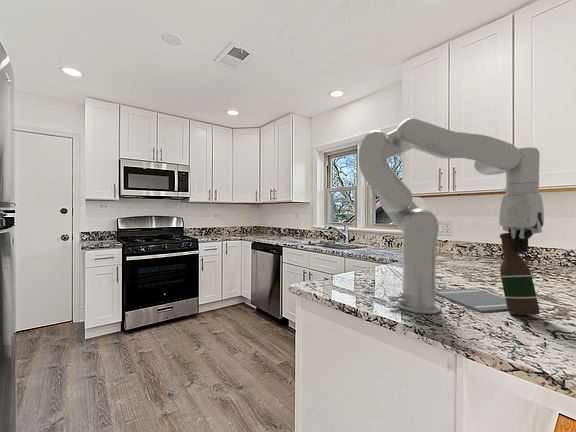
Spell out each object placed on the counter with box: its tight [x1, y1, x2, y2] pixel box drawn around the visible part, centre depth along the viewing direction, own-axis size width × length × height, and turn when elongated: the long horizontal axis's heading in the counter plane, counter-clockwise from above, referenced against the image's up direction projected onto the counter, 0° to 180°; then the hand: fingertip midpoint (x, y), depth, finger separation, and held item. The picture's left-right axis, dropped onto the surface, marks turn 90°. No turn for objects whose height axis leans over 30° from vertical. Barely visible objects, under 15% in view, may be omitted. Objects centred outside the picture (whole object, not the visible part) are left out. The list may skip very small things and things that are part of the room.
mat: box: [435, 288, 509, 314], centre depth 99 cm, size 20×22×1 cm
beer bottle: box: [499, 232, 541, 316], centre depth 86 cm, size 8×8×24 cm
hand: (520, 251), depth 84 cm, fingers closed
